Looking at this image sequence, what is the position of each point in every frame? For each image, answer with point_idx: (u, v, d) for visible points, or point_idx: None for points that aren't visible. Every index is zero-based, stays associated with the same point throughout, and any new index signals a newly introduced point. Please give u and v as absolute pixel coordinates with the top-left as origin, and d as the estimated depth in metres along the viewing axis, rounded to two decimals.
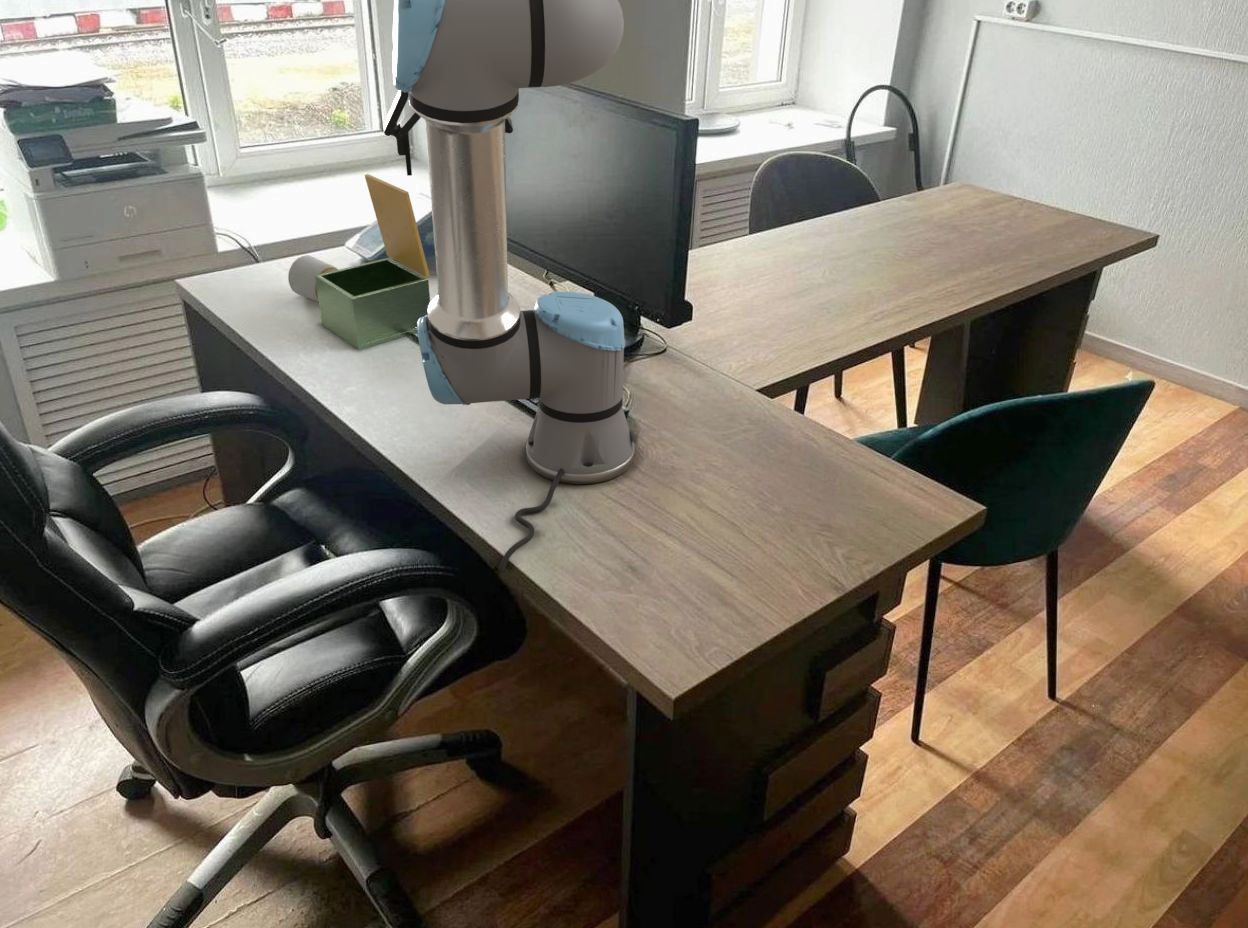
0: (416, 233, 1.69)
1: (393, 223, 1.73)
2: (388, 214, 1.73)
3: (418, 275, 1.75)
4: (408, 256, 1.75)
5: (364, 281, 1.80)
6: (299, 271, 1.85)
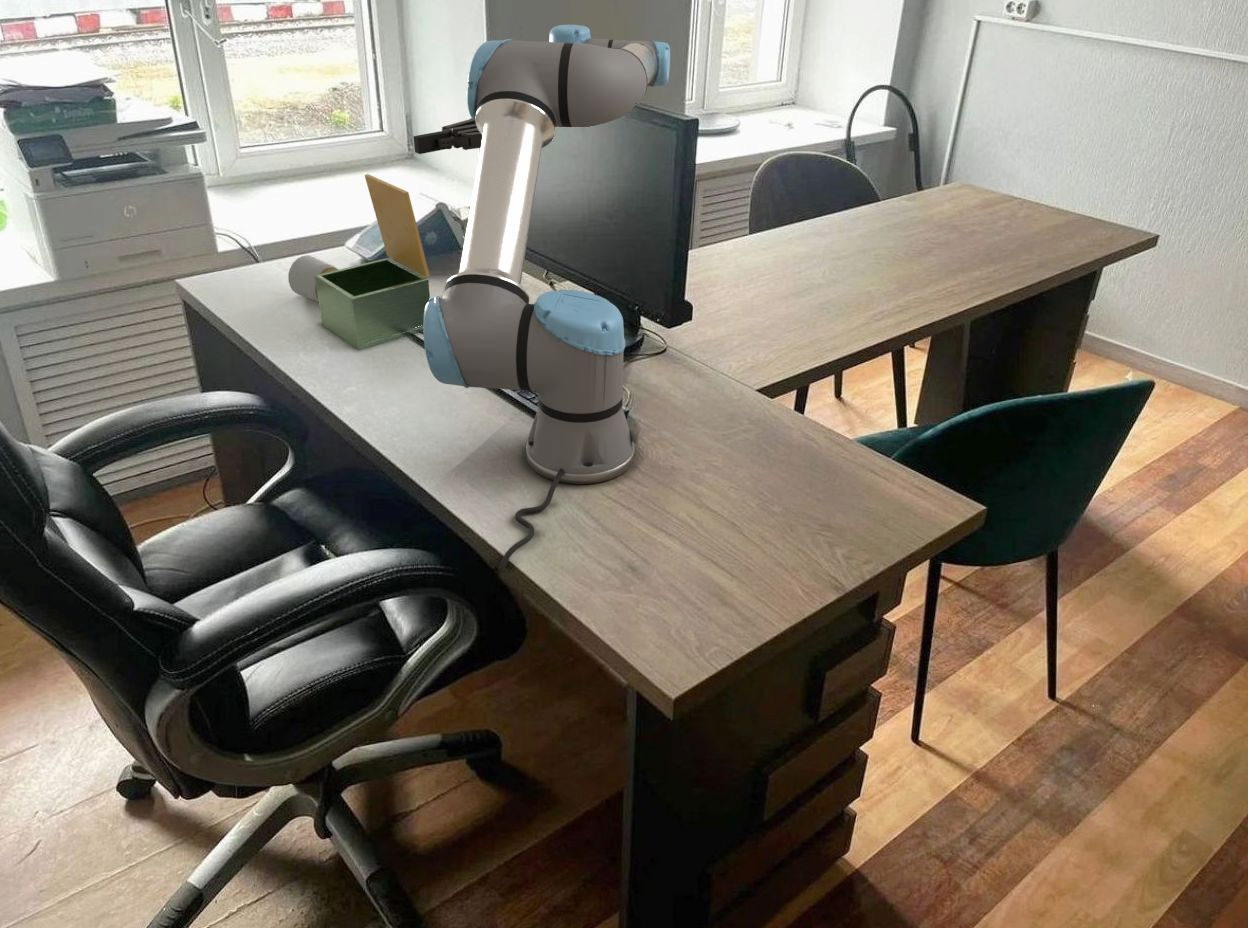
0: (416, 233, 1.69)
1: (393, 223, 1.73)
2: (388, 214, 1.73)
3: (418, 275, 1.75)
4: (408, 256, 1.75)
5: (364, 281, 1.80)
6: (299, 271, 1.85)
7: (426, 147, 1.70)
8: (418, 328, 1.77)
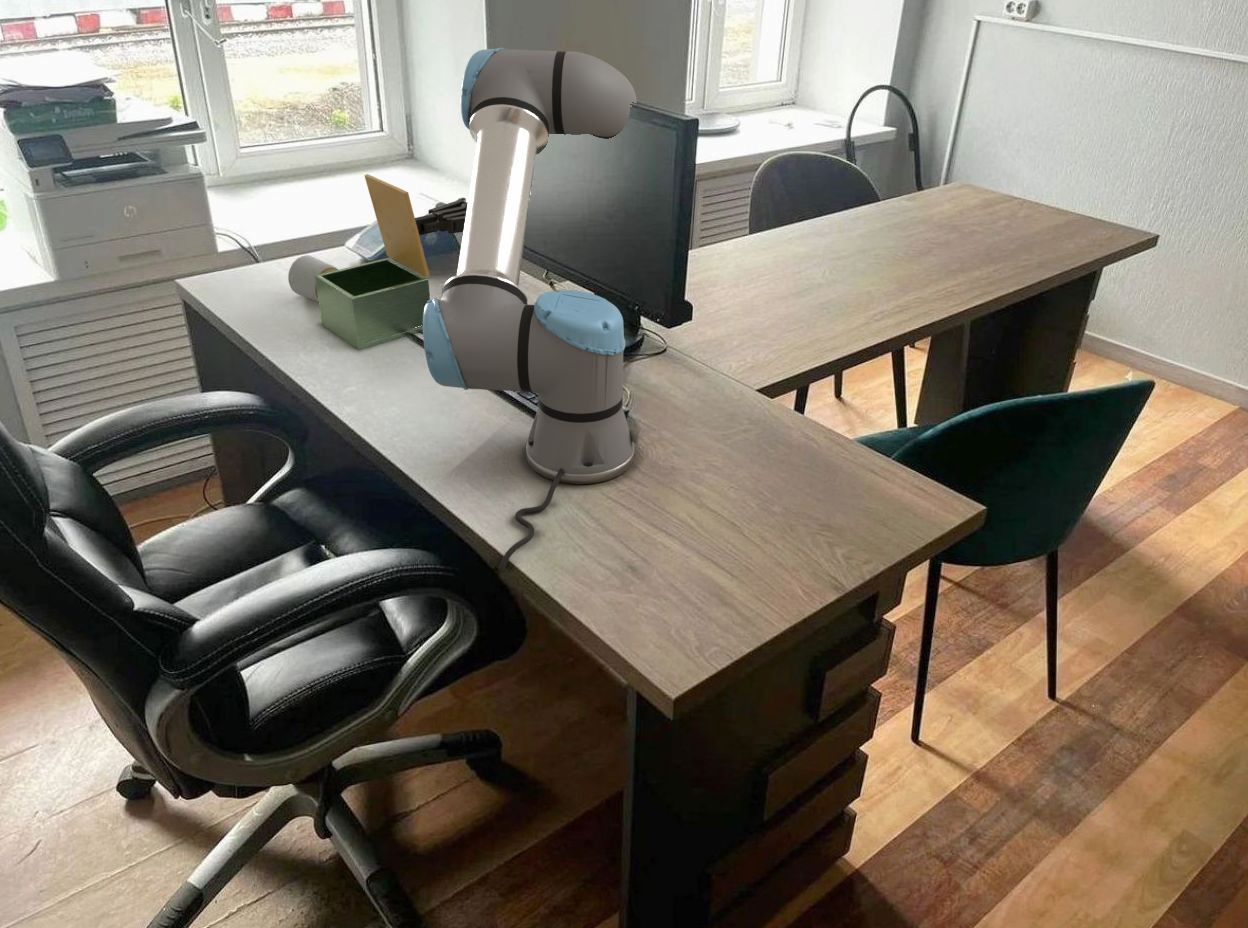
0: (416, 233, 1.69)
1: (393, 223, 1.73)
2: (388, 214, 1.73)
3: (418, 275, 1.75)
4: (408, 256, 1.75)
5: (364, 281, 1.80)
6: (299, 271, 1.85)
7: None
8: (418, 328, 1.77)
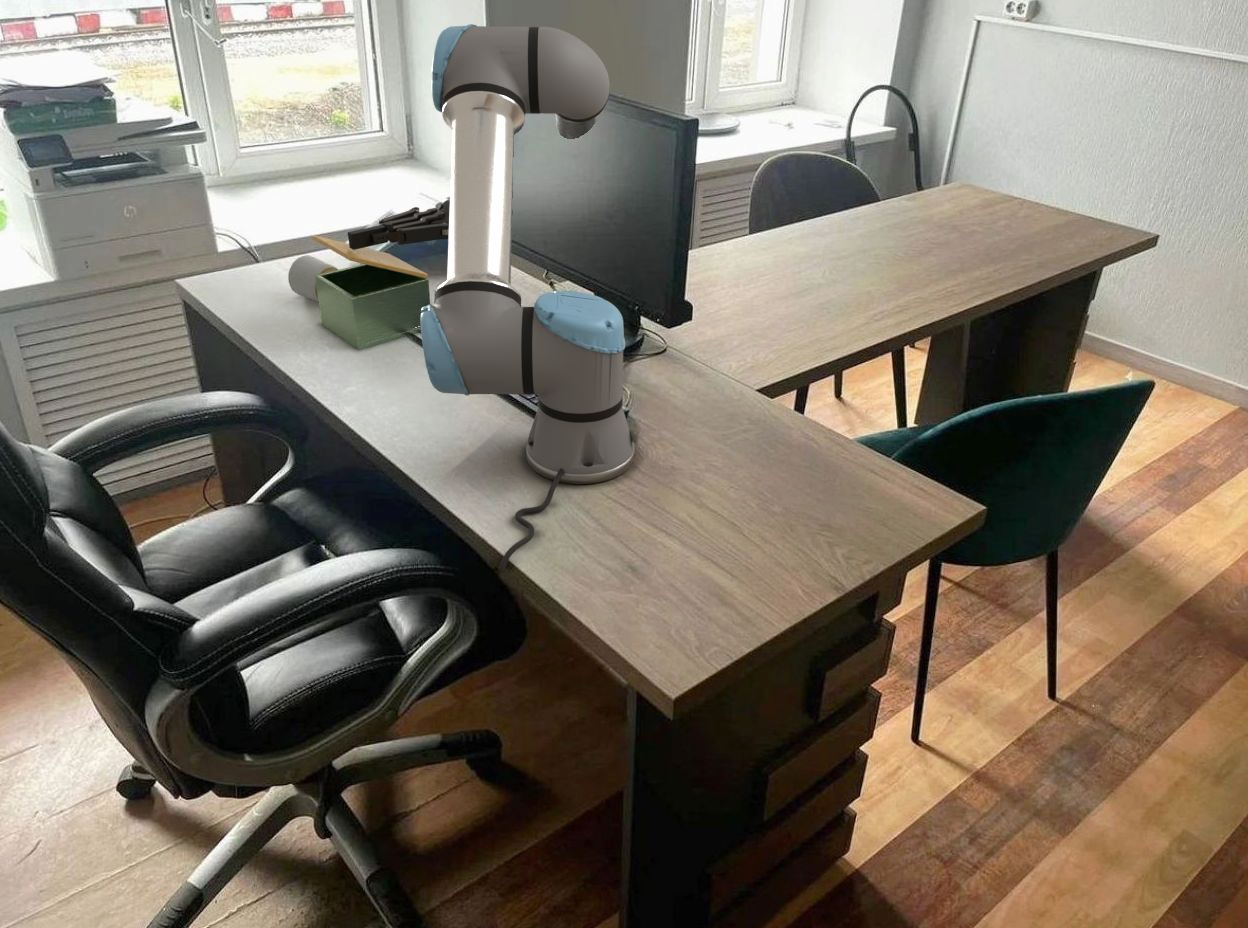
0: (387, 268, 1.68)
1: None
2: None
3: None
4: None
5: (364, 281, 1.80)
6: (299, 271, 1.85)
7: (360, 243, 1.69)
8: (418, 328, 1.77)
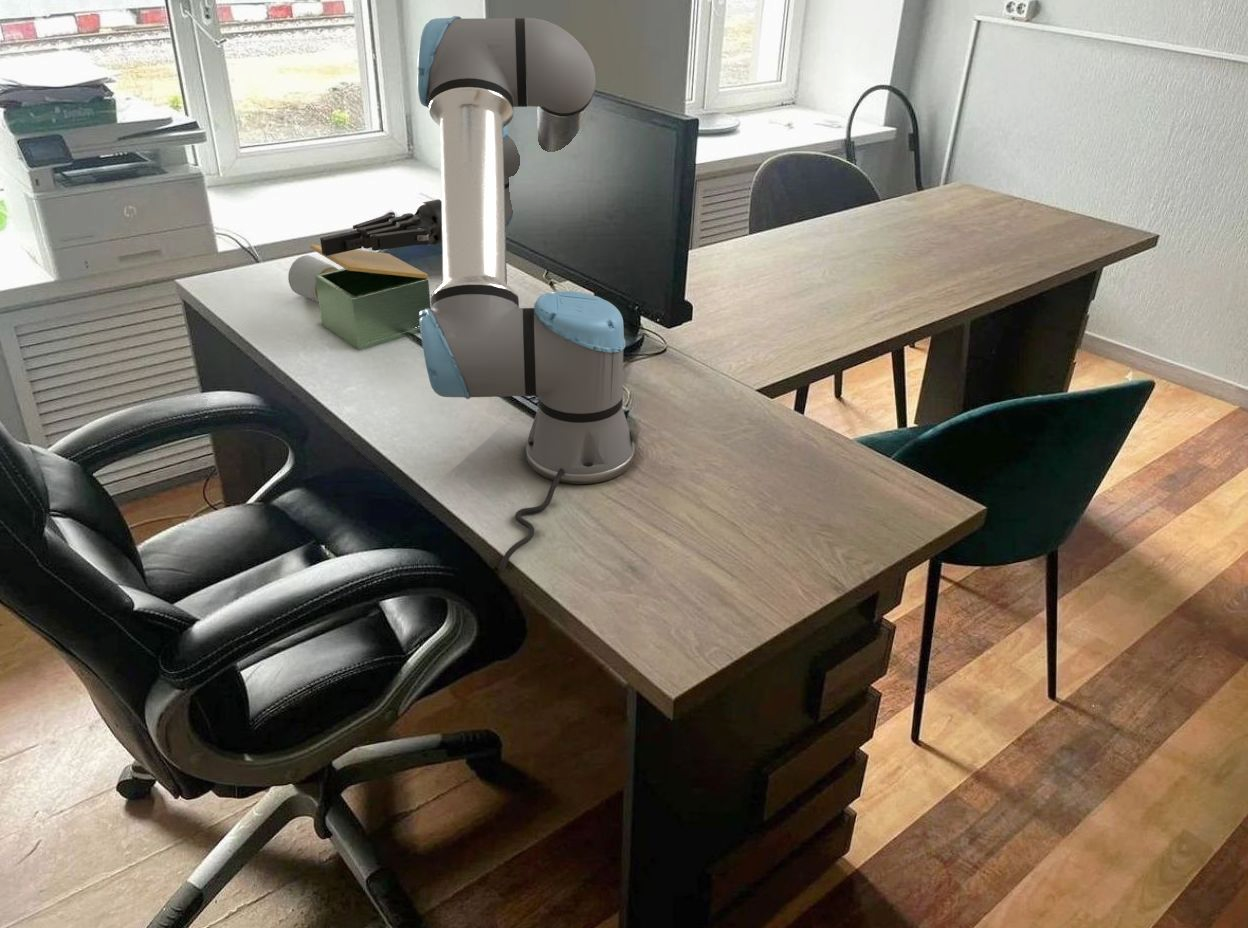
0: (386, 273, 1.68)
1: None
2: None
3: None
4: None
5: (364, 281, 1.80)
6: (299, 271, 1.85)
7: (333, 249, 1.67)
8: (418, 328, 1.77)
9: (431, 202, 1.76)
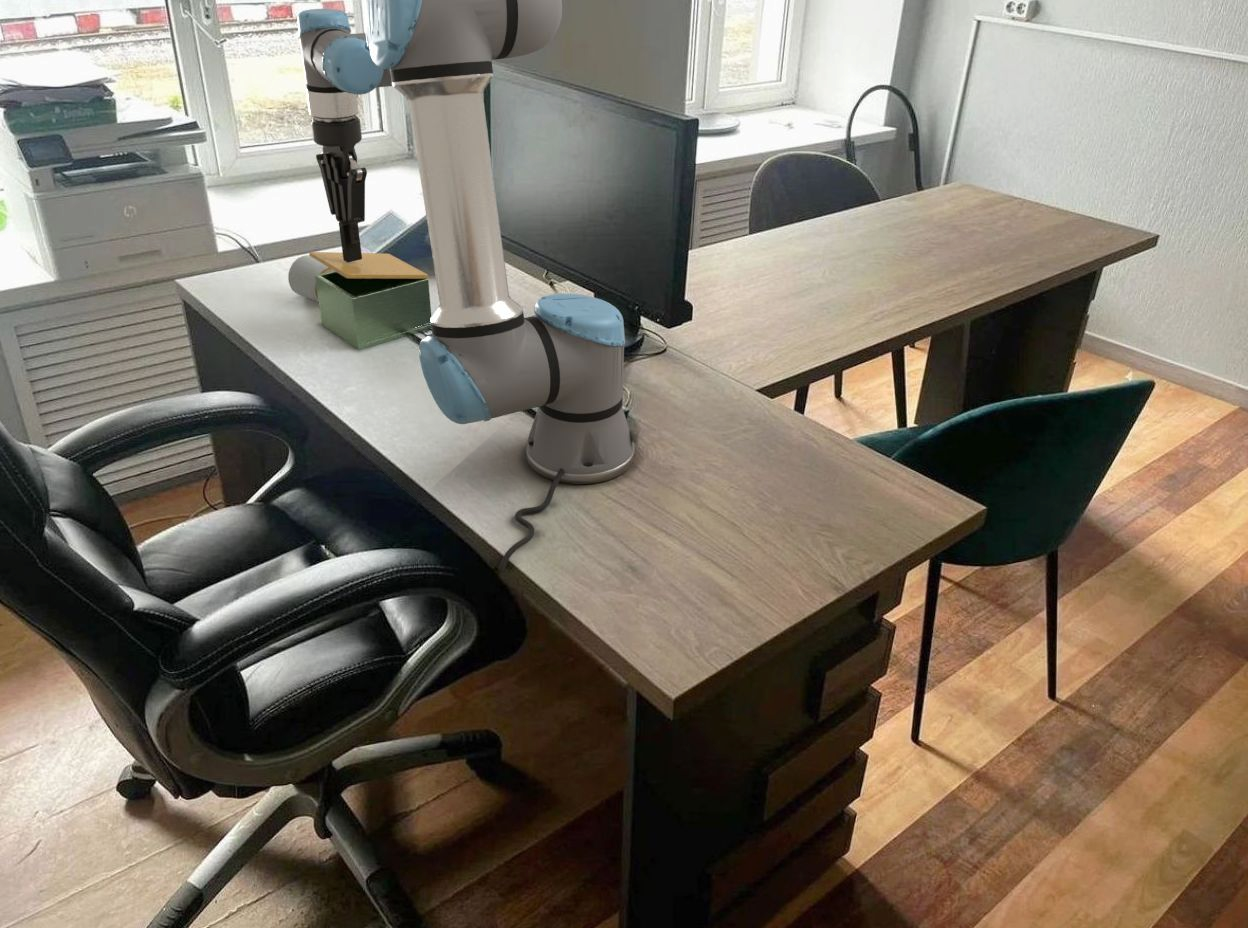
0: (386, 277, 1.68)
1: None
2: None
3: None
4: None
5: (364, 281, 1.80)
6: (299, 271, 1.85)
7: (356, 251, 1.70)
8: (418, 328, 1.77)
9: (316, 137, 1.57)
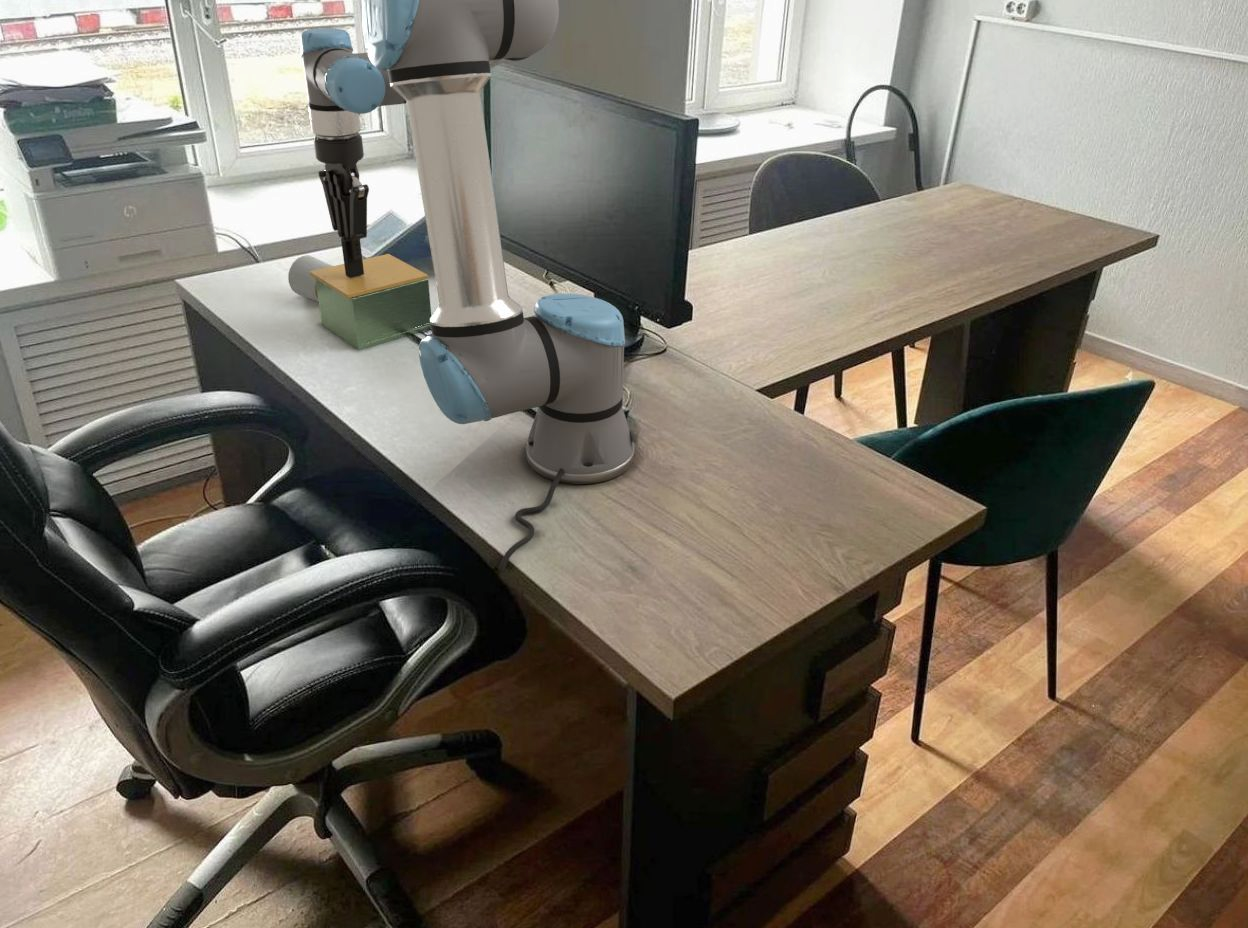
0: (386, 287, 1.69)
1: None
2: None
3: None
4: None
5: None
6: (299, 271, 1.85)
7: (358, 267, 1.71)
8: (418, 328, 1.77)
9: (318, 155, 1.59)
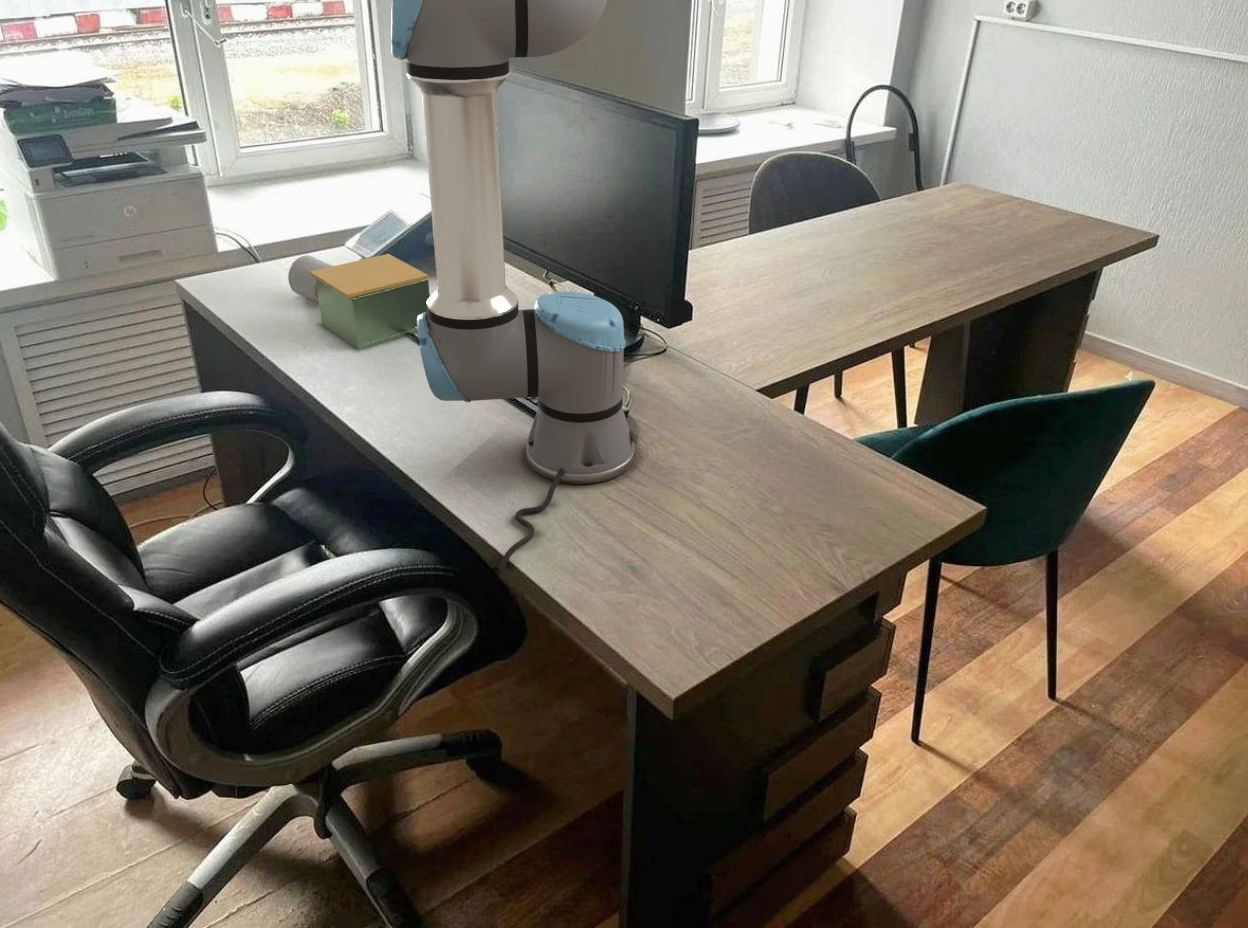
0: (386, 287, 1.69)
1: None
2: None
3: None
4: None
5: None
6: (299, 271, 1.85)
7: None
8: None
9: None
